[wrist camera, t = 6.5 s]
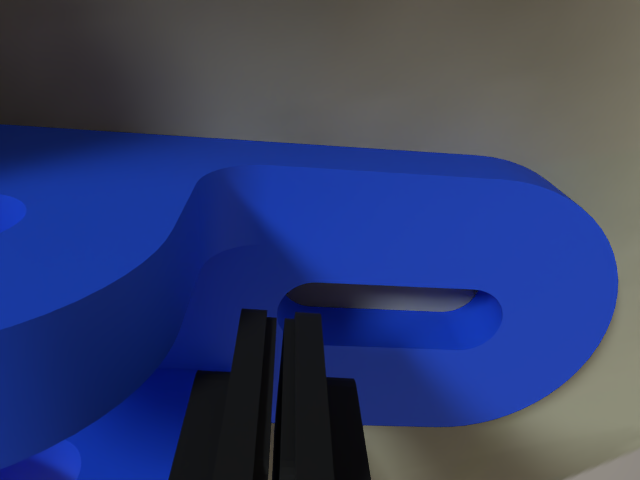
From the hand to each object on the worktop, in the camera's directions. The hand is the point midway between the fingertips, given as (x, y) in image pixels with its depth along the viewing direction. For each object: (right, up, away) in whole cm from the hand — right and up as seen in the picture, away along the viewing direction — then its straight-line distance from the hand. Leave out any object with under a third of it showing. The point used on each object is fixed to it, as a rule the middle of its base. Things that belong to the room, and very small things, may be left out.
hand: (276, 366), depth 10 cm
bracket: (0, +2, +5) cm, 5 cm away
